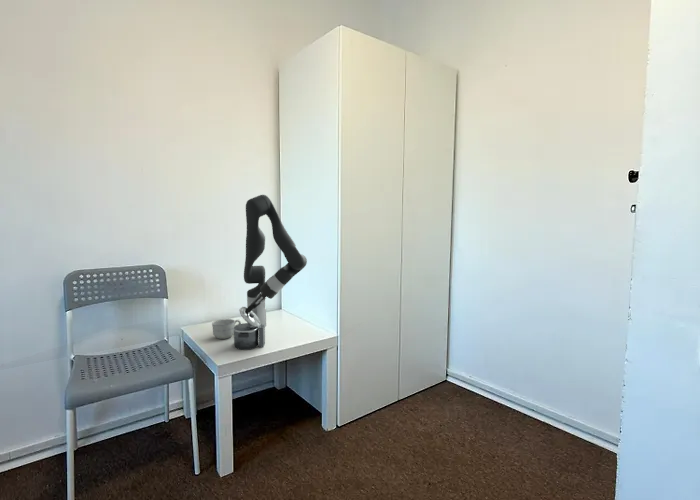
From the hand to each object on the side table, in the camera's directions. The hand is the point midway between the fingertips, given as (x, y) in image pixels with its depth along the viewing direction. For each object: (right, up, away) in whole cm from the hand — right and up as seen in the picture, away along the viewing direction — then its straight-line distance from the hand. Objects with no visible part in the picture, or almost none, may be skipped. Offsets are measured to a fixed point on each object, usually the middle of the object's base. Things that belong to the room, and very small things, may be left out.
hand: (246, 311), depth 187 cm
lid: (+1, -3, 0) cm, 3 cm away
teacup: (-13, -15, +14) cm, 24 cm away
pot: (+1, -16, +2) cm, 16 cm away
